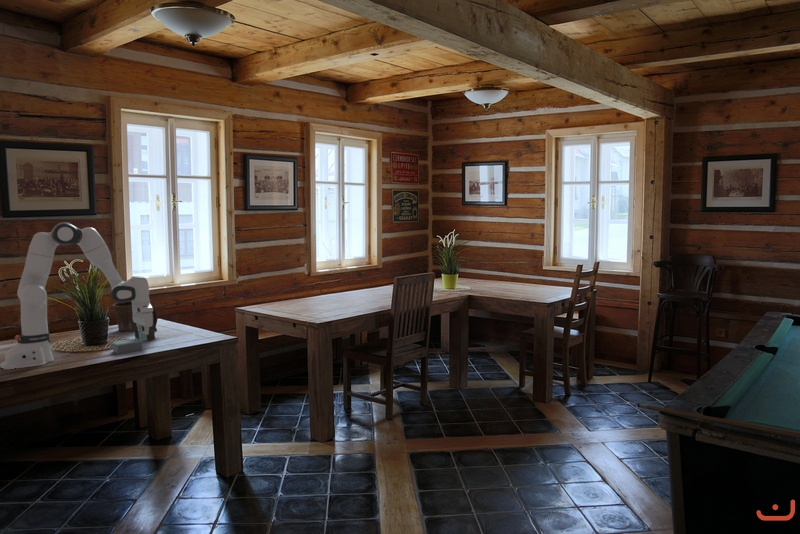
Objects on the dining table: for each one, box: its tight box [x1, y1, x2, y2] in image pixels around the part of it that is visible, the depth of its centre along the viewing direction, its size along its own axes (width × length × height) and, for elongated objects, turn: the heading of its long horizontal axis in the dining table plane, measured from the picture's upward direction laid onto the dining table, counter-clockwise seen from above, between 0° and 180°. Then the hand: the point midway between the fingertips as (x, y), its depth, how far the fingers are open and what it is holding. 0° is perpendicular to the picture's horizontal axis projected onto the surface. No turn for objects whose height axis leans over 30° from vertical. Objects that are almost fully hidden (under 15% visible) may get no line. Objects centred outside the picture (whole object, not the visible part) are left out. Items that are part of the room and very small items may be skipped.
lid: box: [112, 332, 147, 346], centre depth 321 cm, size 16×8×4 cm, turn 131°
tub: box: [112, 342, 143, 355], centre depth 320 cm, size 12×8×5 cm, turn 131°
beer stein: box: [133, 304, 158, 343], centre depth 349 cm, size 15×11×20 cm
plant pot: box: [112, 301, 134, 333], centre depth 376 cm, size 16×16×16 cm
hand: (143, 333), depth 325 cm, fingers open, 8 cm apart
